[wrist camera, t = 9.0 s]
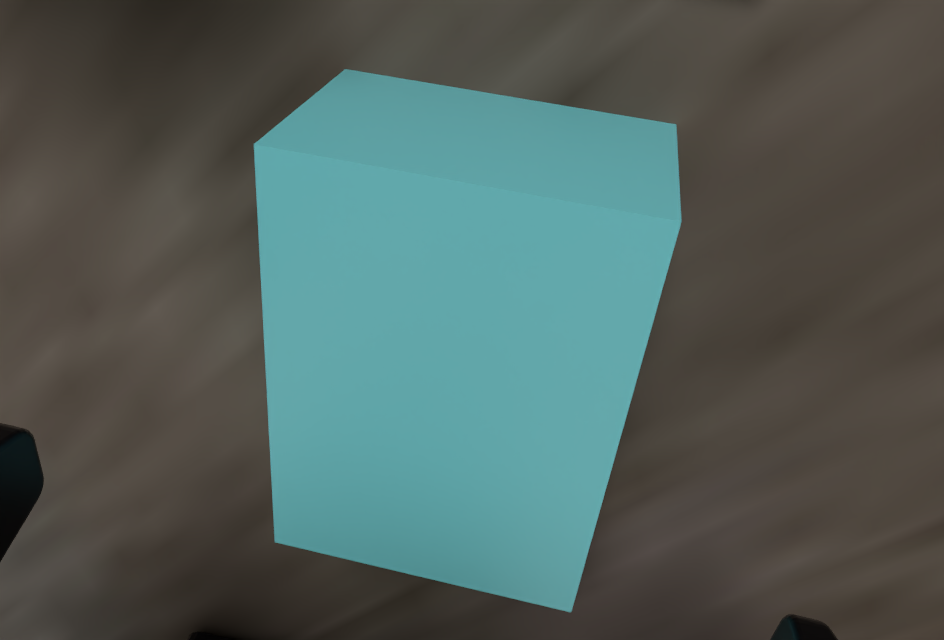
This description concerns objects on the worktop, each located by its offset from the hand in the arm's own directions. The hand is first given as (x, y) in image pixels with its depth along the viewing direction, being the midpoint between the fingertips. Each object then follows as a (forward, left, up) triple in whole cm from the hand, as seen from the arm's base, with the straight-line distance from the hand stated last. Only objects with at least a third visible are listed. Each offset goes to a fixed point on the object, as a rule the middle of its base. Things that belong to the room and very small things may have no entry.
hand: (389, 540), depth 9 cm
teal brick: (0, 0, -6) cm, 6 cm away
